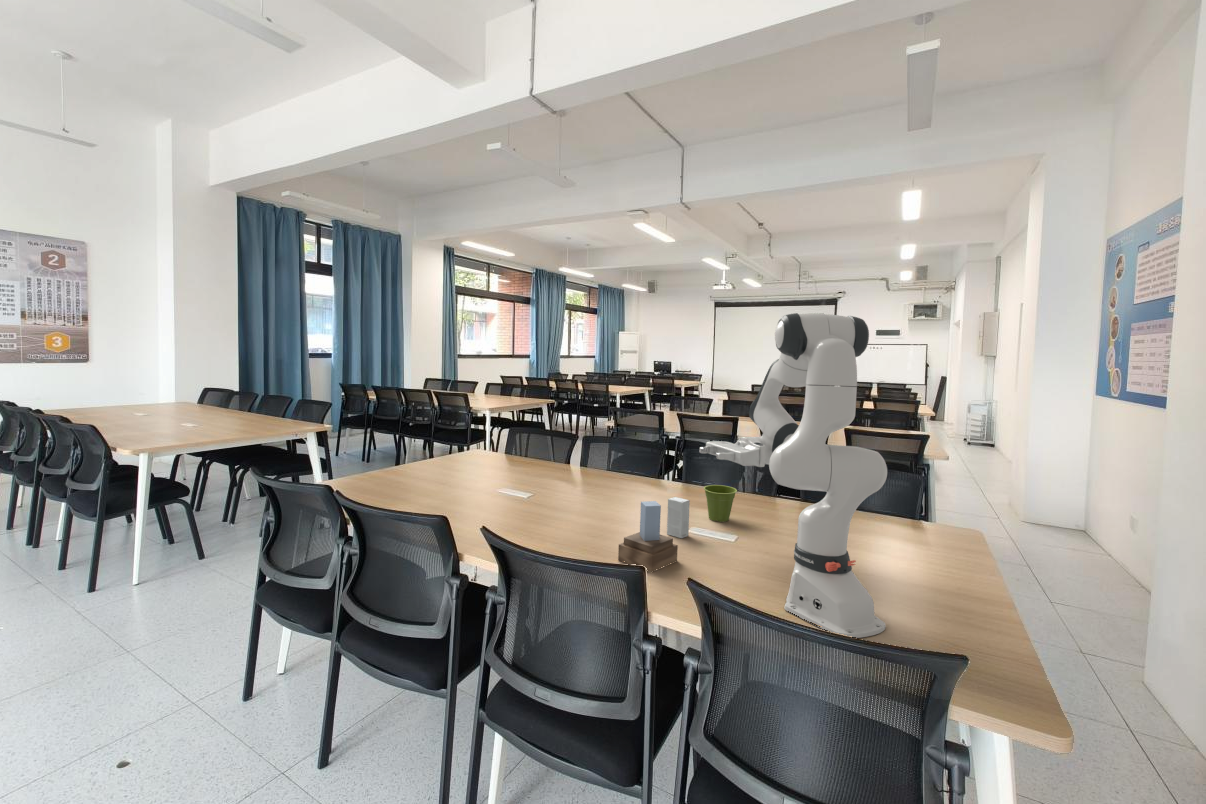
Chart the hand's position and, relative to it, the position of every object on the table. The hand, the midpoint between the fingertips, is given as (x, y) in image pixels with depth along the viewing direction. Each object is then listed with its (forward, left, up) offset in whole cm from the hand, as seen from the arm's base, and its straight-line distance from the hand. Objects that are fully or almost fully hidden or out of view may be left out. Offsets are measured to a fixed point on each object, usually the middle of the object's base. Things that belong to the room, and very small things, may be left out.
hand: (708, 453), depth 163 cm
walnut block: (-2, +20, -30) cm, 36 cm away
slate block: (-2, +20, -23) cm, 31 cm away
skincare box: (+15, +1, -30) cm, 34 cm away
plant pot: (+26, -22, -30) cm, 46 cm away
